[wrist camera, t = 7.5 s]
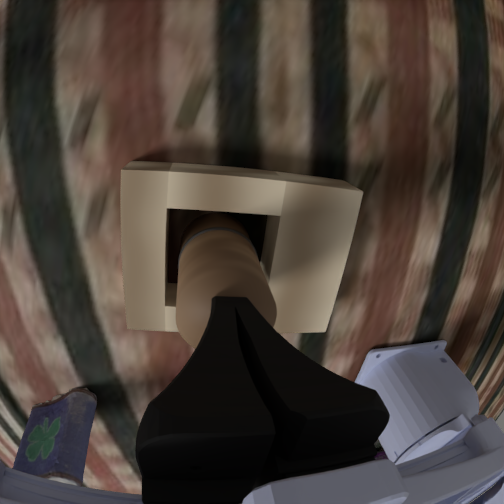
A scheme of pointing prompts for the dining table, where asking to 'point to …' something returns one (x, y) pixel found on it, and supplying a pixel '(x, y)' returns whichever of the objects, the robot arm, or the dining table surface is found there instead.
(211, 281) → the peg
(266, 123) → the dining table surface
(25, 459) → the flask
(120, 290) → the dining table surface
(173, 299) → the board
